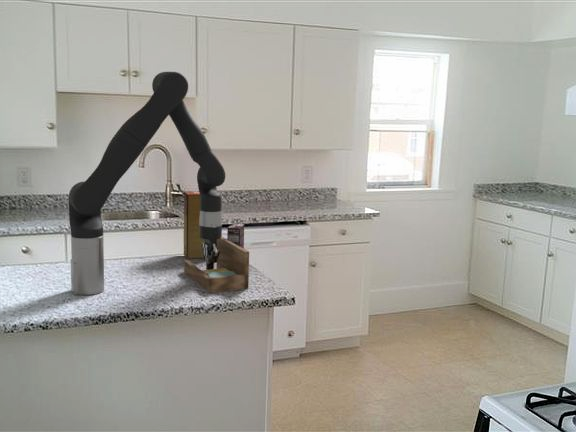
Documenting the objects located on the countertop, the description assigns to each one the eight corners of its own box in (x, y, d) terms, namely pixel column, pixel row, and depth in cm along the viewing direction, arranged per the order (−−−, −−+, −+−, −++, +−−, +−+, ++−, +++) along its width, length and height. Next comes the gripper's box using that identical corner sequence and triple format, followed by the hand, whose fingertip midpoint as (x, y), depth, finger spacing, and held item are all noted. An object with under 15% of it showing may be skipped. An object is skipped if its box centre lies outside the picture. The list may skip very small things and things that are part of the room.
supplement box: (231, 265, 215) (231, 223, 212) (244, 266, 214) (245, 223, 212) (226, 271, 206) (226, 227, 204) (239, 272, 206) (240, 228, 203)
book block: (210, 289, 185) (210, 277, 184) (205, 284, 190) (206, 272, 189) (237, 287, 188) (237, 275, 188) (232, 282, 193) (232, 271, 193)
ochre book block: (206, 284, 190) (206, 274, 190) (199, 280, 195) (199, 270, 194) (231, 281, 195) (231, 271, 194) (224, 277, 199) (224, 267, 199)
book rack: (208, 292, 181) (209, 254, 179) (184, 271, 204) (184, 238, 202) (248, 288, 187) (249, 251, 185) (220, 268, 210) (220, 235, 208)
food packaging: (215, 252, 235) (216, 190, 230) (220, 257, 226) (221, 193, 222) (182, 253, 230) (183, 190, 226) (186, 259, 222) (186, 194, 217)
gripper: (193, 221, 200) (193, 270, 203) (206, 228, 188) (205, 279, 191) (214, 220, 203) (213, 268, 206) (228, 226, 192) (227, 277, 194)
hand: (209, 273), depth 198 cm, fingers closed
